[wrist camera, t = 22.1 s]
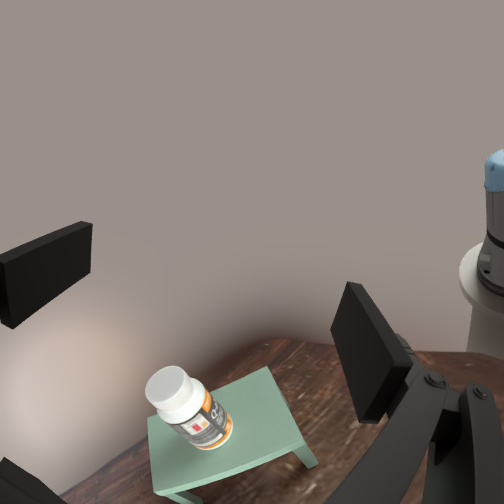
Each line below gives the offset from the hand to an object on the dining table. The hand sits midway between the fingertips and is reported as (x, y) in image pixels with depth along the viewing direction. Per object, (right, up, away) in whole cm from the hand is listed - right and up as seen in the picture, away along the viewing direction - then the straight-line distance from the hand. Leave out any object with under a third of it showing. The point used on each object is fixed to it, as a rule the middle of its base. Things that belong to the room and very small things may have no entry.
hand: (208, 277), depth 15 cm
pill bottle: (-2, -19, +16) cm, 25 cm away
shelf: (+1, -27, +20) cm, 33 cm away
